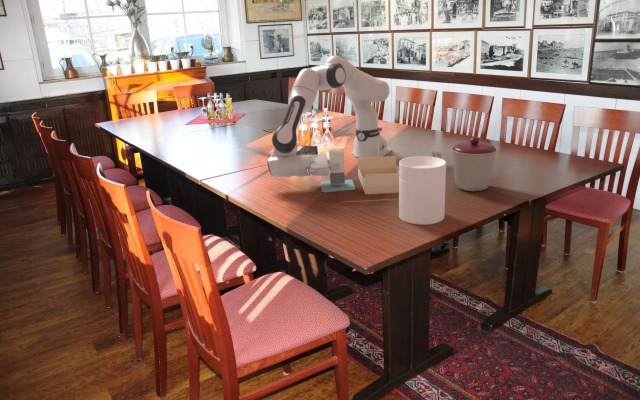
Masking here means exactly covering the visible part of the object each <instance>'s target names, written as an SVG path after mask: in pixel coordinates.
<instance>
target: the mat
mask: <svg viewBox="0 0 640 400" xmlns="http://www.w3.org/2000/svg"><path fill="white" fill-rule="evenodd" d="M320 186H321V193H322V192H324V193H336V192H337V191H339V192H340V191H354V190H355V191H356V187H355V184H354V180H353V179H345V184H331V183H330V180H320Z"/></svg>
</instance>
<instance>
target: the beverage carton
mask: <svg viewBox="0 0 640 400" xmlns="http://www.w3.org/2000/svg"><path fill="white" fill-rule="evenodd" d="M304 154H310V155H319V150H318V145H304V146H302V147H300V148H299V149H297V153H296V156H302V155H304Z"/></svg>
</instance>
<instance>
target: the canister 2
mask: <svg viewBox="0 0 640 400" xmlns="http://www.w3.org/2000/svg"><path fill="white" fill-rule="evenodd" d="M450 150H451V152H452V164H453V176H454V183H455V185H456V187H457V188H458V189H460V190H462V191H467V192H482V191H484V190H486V189H488V187H490V184H491V180H492V176H493V172H494V166H495V161H496V154H497V152H498V151H499V149H498V147H497V146H495V145H493V144H491V143H488V142H483V141H480V138H479V137H477V136H472V137H471V138H470V139H469V141H463V142H459V143H456V144H455V145H453V146H451V147H450Z"/></svg>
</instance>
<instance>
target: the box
mask: <svg viewBox="0 0 640 400" xmlns="http://www.w3.org/2000/svg"><path fill="white" fill-rule="evenodd" d="M328 159H329V165H334V164H339V166H340V168H339V169H334V170H329V181H330V183H331V184H345V180H346V178H345V177H346V175H345V174H346V173H345V150H344V148H332V149H331V148H329V149H328Z"/></svg>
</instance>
